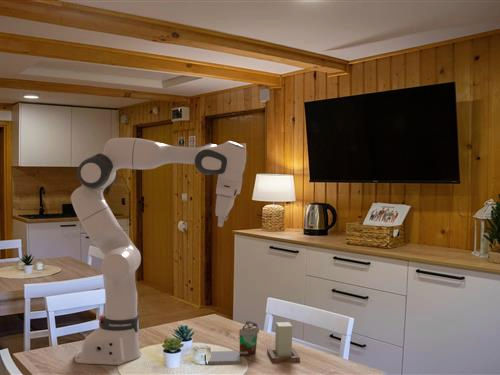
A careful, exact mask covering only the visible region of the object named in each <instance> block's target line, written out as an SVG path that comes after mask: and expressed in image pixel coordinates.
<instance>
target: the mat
mask: <svg viewBox="0 0 500 375" xmlns="http://www.w3.org/2000/svg"><path fill="white" fill-rule="evenodd" d="M210 352H211V358H210V360H209V361H208V364H207V365H228V364H229V365H232V364H233V365H234V364H235V365H236V364H242V359H241V356H240V352H239V351H238V350H220V351H219V350H218V351H210Z"/></svg>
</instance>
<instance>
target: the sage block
mask: <svg viewBox="0 0 500 375" xmlns="http://www.w3.org/2000/svg"><path fill="white" fill-rule="evenodd" d="M274 339H275V341H274V344H275V345H274V349H275V354H274V355H275V356H276V357H283V356H292V348H293V325H292V324H291V322H290V321H285V322H283V321H281V322H277V321H276V322H275V338H274Z"/></svg>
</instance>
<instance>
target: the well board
mask: <svg viewBox="0 0 500 375" xmlns="http://www.w3.org/2000/svg"><path fill="white" fill-rule="evenodd" d="M266 353H267V355H268V358H269V359H270V361H271V363H300V362H301V357H300V355H299V354H298V353H297V351H296V349H295V348H294V347H292V356H283V357H276V356H275V348H267V349H266Z"/></svg>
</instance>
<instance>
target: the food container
mask: <svg viewBox="0 0 500 375" xmlns="http://www.w3.org/2000/svg"><path fill="white" fill-rule="evenodd" d="M238 333H239V334H238V336H239V356H240V357H249V356H253V355H255V354H256V352H257V343H258V342H257V340H258V333H260V326H259V324H258V323H257V322H255V321H251V320H245V325H243V326H242V328H240V329H239V332H238Z"/></svg>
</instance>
